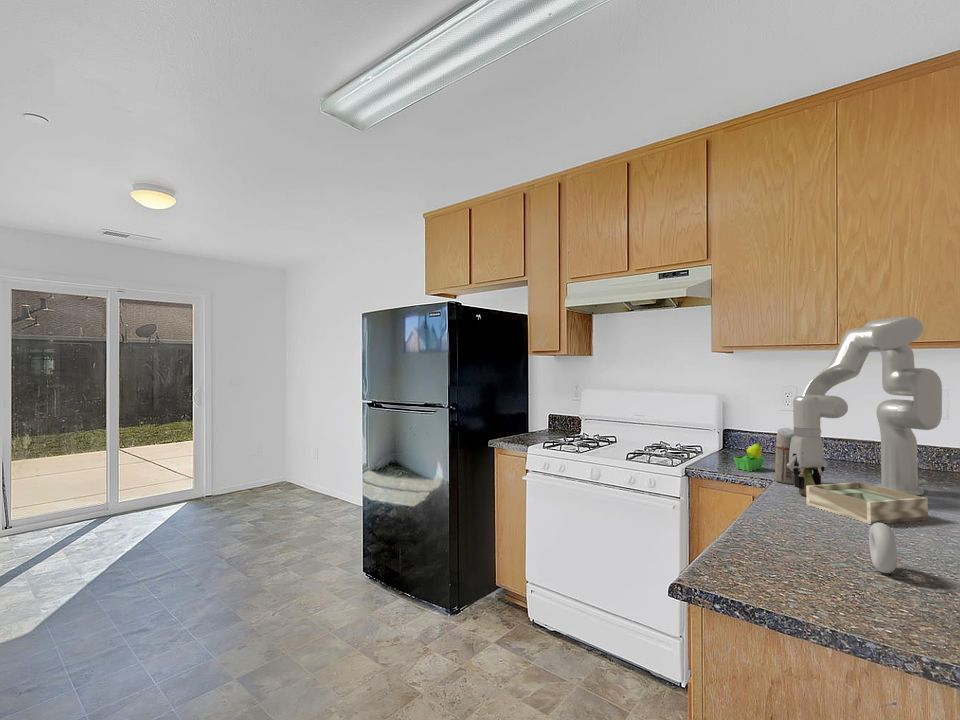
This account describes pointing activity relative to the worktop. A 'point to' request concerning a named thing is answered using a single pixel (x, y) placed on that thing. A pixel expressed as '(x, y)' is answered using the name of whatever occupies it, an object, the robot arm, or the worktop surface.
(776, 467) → the spray can
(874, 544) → the donut
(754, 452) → the fruit basket
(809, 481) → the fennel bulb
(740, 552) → the worktop surface
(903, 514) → the open wooden box
